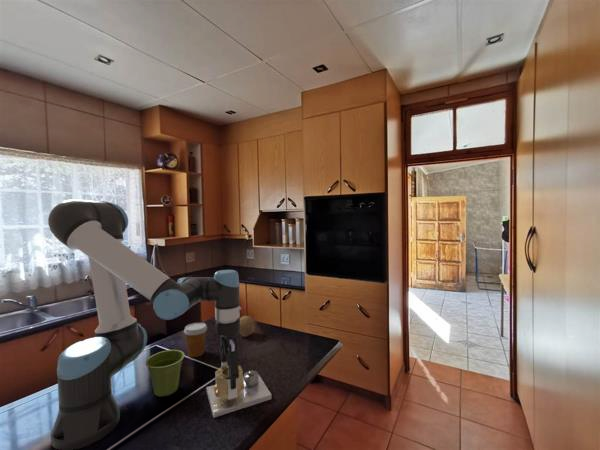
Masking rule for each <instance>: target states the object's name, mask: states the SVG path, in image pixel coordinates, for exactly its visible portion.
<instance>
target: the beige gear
mask: <svg viewBox="0 0 600 450" xmlns="http://www.w3.org/2000/svg"><path fill="white" fill-rule="evenodd" d="M238 370H239V378H237V396H239V395H240V392H241V391H242V390H244V383H243V377H244V374H243V373H244V372H243V368H242V366H241V365H238ZM214 373H215V374H214V375H215V377H214V380H215V381H214V382H215V384H214V385H215V386H214V392H215V396H216V397H217V398H218V397H222V398H225V399H228V380H226V378H227V377H228V366H227V365H226V366H222V367H221V366H220V367H219V368H218V369H217V370H216V371H214Z"/></svg>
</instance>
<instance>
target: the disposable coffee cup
mask: <svg viewBox="0 0 600 450" xmlns="http://www.w3.org/2000/svg"><path fill="white" fill-rule="evenodd" d="M207 330H208V326H207V324H206V323H205V322H193V323H189V324H187V325H186V326H185V327H184V330H183V333H184V334H185V335H184V336H185V342H186V348H187V353H188V357H190V358H198V357H202V355H204V353H205V345H206V337H207V336H206V335H207Z"/></svg>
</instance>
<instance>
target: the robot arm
mask: <svg viewBox="0 0 600 450" xmlns="http://www.w3.org/2000/svg"><path fill="white" fill-rule="evenodd" d="M47 219H48V221H47V223H48V227H49V231H50V232H51V233H52V235H53V236H54V237H55V238H56V239H57V240H58V241H59V242H60V243H61V244H63V245H64V246H66V247H67V248H69V250H74V251H75V250H79V251H80V252H82V253H83V254H84V255H86V257H88V263H89V269H90V273H91V282H92V286H93V287H92V288H93V294H94V300H95V305H96V306H95V307H96V311H97V317H98V323H99V324H98V326H97V327H96V329H94V336H95V337H89V338H85V339H84V340H80V341H77V342H75V343H73V344H71V345H70V346H68V347H67V348H65V349H64V350H62V352H61V354H60V355H59V356H58V359H57V367H56V375H57V376H56V377H57V392H58V393H57V394H58V412H57V416H56V418H55V421H54V424H53V427H52V430H51V434H50V443H51V444H50V445H51V447H52V446H53V447H54V448H56V449H62V450H71V449H72V450H73V449H75V450H79V449H82V448H86V447H87V446H89V445H91V444H94V443H95V442H98V441H99V440H102V439H103V438H105V437H106V436H108V434H110V433H111V432H112V431H113V430H115V428H116V427H117V425H118V424H119V422H120V417H121V414H120V413H121V412H120V408H119V404H118V403H117V401H116V399H115V397H114V394H113V393H112V392H113V391H112V390H113V389H112V377H114V376H115V375H116V374H117V373H119V372H120V371H121V370H122V369H124V368H126V366H128V365H129V364H130V363H133V362H134V361H135V360H136V359H137V358H138V357H139V356H140V355H141V354H142V353H143V352H144V350H145V348H146V347H147V343H148V334H147V331H146V329H145V328H144V327H142V325H141V324H140V323H138V320H137V318H135V317H133V316H132V315H131V309H130V304H129V298H128V297H129V296H128V292H127V285H128V286H129V287H131V288H132V289H134V290H135V291H136V292H138V293H139V294H141V296H143V297H144V298H146V299H147V300H149V301H150V302H152V303H153V304H152V307H153V311H154V312H155V315H156V316H157V317H158V318H160V319H161V320H165V321H170V320H173V319H176V318H178V317H180V316H181V315H183V314H185V313H186V312H187V311H188V310H190V309H191V308H192V307H194V306H195V305H196V304H198V303H199V302H214V320H215V333H216V335H218V336H220V337H219V339H220V341H219V342H220V345H219V357H220V361H221V365H220V367H222V366H226V365H227V366H228V377H227V378H226V380H228V400H230V399H233V398H236V397H238V396H237V378H239V370H238V366H239V357H238V343H237V340H236V339H237V338H236V337H235V336H234V335H236V334H237V333H239V330H240V318H241V315H240V311H241V310H242V307H241V306H240V280H239V278H240V277H239V273H238V271H237V270H234V269H221V270H217V271H215V273H214V275H213V276H212V277H210V276H209V277H207V276H206V277H203V276H199V277H197V276H195V277H193V276H188V277H181V278H178V279H177V282H176V281H175V280H174V279H172V278H171V277H169V276H168V275H167V274H166V273H164V272H162V271H161V270H160V269H158V268H157V267H155V266H154V265H153V264H151V263H150V262H148V261H147V260H146V259H144V258H143V257H141V256H140V255H139V254H138V253H136V252H135V251H133V250H132V249H131V248H129V247H128V246H127V245H125V244H124V243H122V242H123V241H124V240H125V238H124V233H125V232H126V229H127V228H128V226H129V218H128V215H127V212H126V211H125V210H124V208H122V207H121V206H120V205H118V204H116V203H113V202H110V201H109V202H108V201H105V200H103V201H101V200H100V201H99V200H89V199H88V200H87V199H85V200H84V199H79V198H78V199H75V198H74V199H68V200H67V199H66V200H64V201H62V202H60V203H59V202H58V204H56V205H55V206H54V207H53V208H52V209H51V210H50V213H49V215H48V218H47ZM53 447H52V448H53ZM54 448H53V449H54ZM56 449H55V450H56Z"/></svg>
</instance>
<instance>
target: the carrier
mask: <svg viewBox="0 0 600 450" xmlns="http://www.w3.org/2000/svg"><path fill="white" fill-rule="evenodd" d="M243 383H244V390H242V391H241V392H240V395H239V396H238V397H236V398H233V399H230V400H228V399H225V398H222V397H218V398H217V397H216V396H215V392H214V386H215V384H214V385H210V386H206V389H205V390H206V392H205V393H206V395H207V398H208V402H209V405H210V406H209V407H210V410H211V414H212V417H213V418H217V417H221V416H224V415H226V414H229V413H233V412H236V411H238V410H241V409H245V408H249V407H252V406H254V405H257V404H261V403H263V402H267V401H270V400H272V393H271V391H270V390H269V389H268V386H267V385H266V383H265V382H264V381H263V378H262V377H261V375H260V374H259V372H258V371H256V370H254V369H250V370H248V371H246V372H244V374H243Z"/></svg>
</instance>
